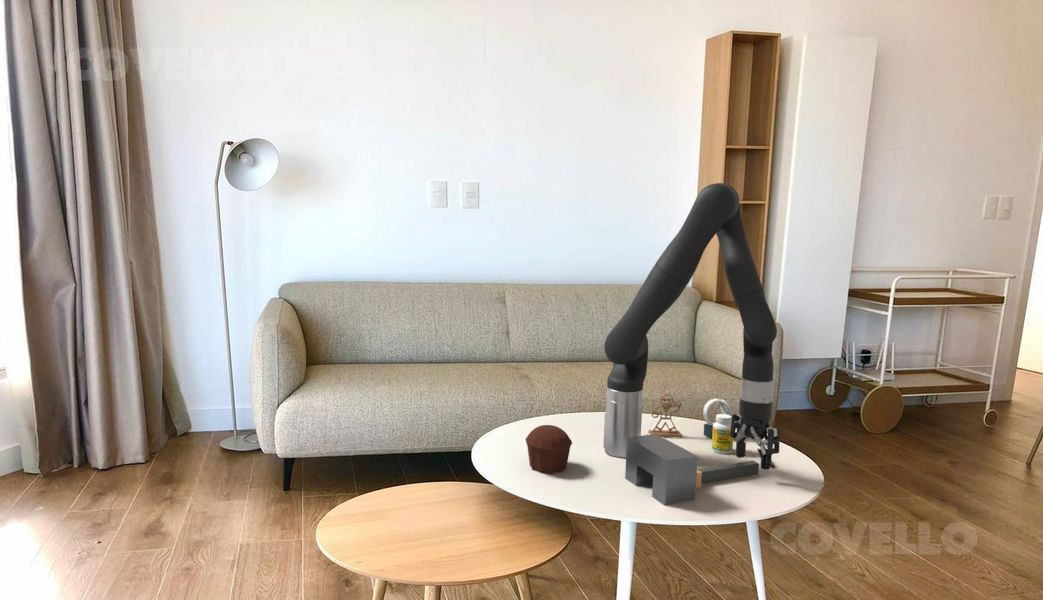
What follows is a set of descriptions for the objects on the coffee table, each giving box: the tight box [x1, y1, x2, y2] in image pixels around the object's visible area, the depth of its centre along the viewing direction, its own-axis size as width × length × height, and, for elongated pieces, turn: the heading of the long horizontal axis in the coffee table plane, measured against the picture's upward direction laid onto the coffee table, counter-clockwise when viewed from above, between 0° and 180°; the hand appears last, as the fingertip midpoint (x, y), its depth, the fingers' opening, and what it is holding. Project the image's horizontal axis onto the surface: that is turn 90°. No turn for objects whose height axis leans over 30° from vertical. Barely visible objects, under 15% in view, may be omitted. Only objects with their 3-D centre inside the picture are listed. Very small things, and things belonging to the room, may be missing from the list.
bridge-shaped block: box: [624, 434, 699, 506], centre depth 156 cm, size 16×8×10 cm, turn 23°
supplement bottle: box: [711, 413, 734, 455], centre depth 183 cm, size 5×5×10 cm
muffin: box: [525, 424, 573, 475], centre depth 168 cm, size 12×11×10 cm
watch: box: [702, 398, 733, 440], centre depth 194 cm, size 6×8×11 cm
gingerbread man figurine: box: [647, 393, 683, 439], centre depth 194 cm, size 9×4×12 cm, turn 90°
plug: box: [696, 460, 760, 489], centre depth 162 cm, size 4×25×4 cm, turn 113°
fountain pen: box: [757, 448, 776, 469], centre depth 178 cm, size 14×1×2 cm, turn 177°
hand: (752, 462), depth 166 cm, fingers open, 8 cm apart
